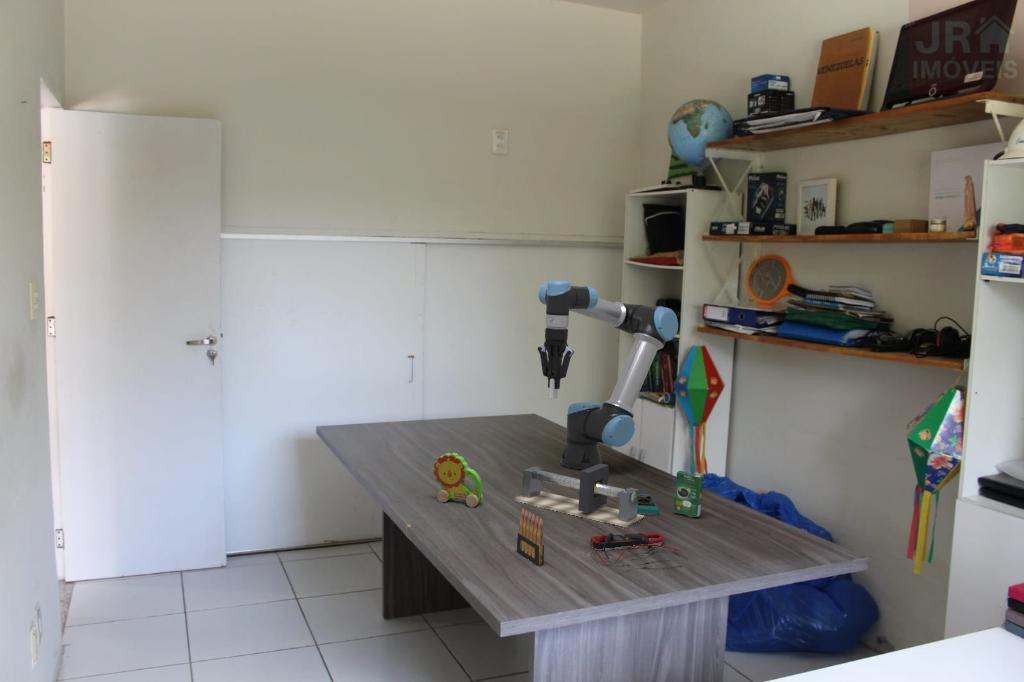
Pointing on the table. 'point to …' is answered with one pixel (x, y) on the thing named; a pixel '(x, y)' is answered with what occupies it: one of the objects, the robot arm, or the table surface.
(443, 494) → the toy lion
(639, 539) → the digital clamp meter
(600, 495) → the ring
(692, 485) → the coffee box
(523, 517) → the ammunition clip
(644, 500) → the digital multimeter
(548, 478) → the pipe
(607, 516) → the board
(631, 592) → the table surface
